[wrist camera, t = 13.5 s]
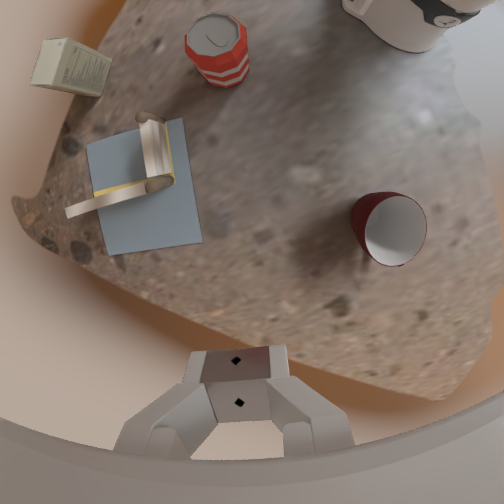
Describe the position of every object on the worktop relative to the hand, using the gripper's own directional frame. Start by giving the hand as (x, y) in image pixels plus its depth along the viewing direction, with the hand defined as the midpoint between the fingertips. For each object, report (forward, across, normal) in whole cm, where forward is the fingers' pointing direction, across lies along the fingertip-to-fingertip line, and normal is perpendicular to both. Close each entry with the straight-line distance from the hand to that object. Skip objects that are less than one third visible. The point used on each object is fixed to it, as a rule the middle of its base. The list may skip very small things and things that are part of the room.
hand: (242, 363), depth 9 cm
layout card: (+31, +15, -5) cm, 35 cm away
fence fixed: (+31, +10, -9) cm, 34 cm away
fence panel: (+30, +17, -5) cm, 35 cm away
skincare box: (+31, +20, -23) cm, 44 cm away
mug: (+31, -16, +4) cm, 35 cm away
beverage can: (+31, +1, -19) cm, 37 cm away
